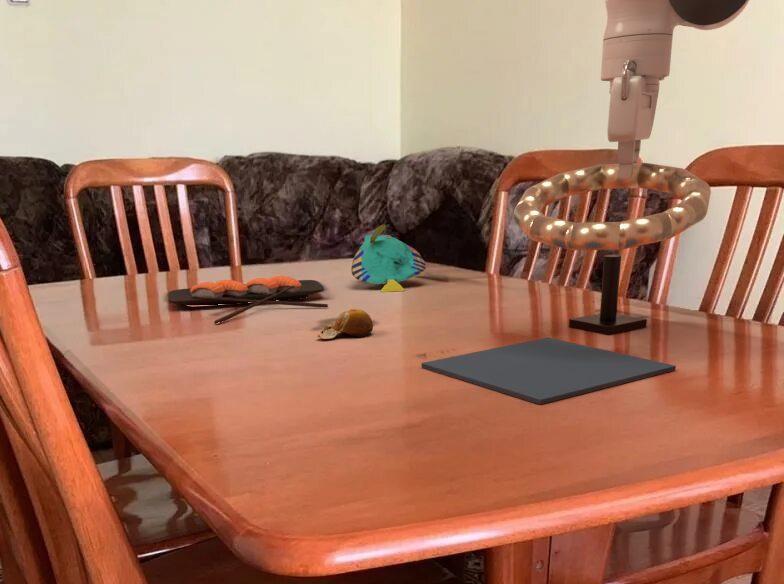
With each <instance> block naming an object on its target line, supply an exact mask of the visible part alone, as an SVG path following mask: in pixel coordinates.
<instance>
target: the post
mask: <svg viewBox="0 0 784 584" xmlns="http://www.w3.org/2000/svg"><path fill="white" fill-rule="evenodd" d="M621 264H622V255H620V254H606V255H604V256H603V266H602V278H601V279H602V280H601V292H600V293H601V295H600V310H599V312H598V313H594V314H589V315H584V316H578V317H572V318H569V320H568V327H569V328H572V329H577V330H582V331H587V332H592V333H597V334H601V335H606V336H611V335H615V334H621V333H625V332H630V331H634V330H639V329H643V328H647V325H648V319H647V318H645V317H644V318H643V317H638V316H631V315H626V314H620V313H618V303H619V301H618V300H619V291H620V289H619V288H620V277H621Z"/></svg>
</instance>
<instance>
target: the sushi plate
mask: <svg viewBox="0 0 784 584" xmlns="http://www.w3.org/2000/svg"><path fill="white" fill-rule="evenodd" d="M324 291H325V287H324V286H323V285H322V284H321V283H320V282H319V281H318V280H315V279H300V280H299V279H298V280H297V279H296V278H294V277H290V276H286V275H275V276H272V277H270V278H265V277H259V278H254V279H251V280H248V281H247V282H246V283H245V284H244V283H243V282H241V281H238V280H234V279H222V280H218V281H216V282H211V281H204V282H200V283H197V284H194V285H193V286H192V287H191V288H180V289H174V290H171V291H170V292H168V297H167V298H168V301H169V302H170V303H171V304H179V305H185V306H186V305H218V304H236V305H238V304H237V303H248V302H254V303H250V304H249V305H247V306H245V307H241V308H240V309H238V310H236V311H233V312H230V313H228V314H226V315H223V316H222V317H220V318H217V319H215V320H214V321H213V322H214V324H215V323H218V322H222V321H224V322H225V321H228V320H230V319H233V318H234V317H236V316H238V315H241V314H242V313H244V312H246V311H248V310H250V309H252V308H254V307H256V306H258V305H260V304H269V305H280V306H281V305H282V306H295V307H296V306H297V307H309V308H321V307H327V308H329V304H328V303H317V302H298V301H289V300H288V299H298V300H301V299H300V298H305V299H307V298H306V297H308V298H309V296H310V295H314V294H318V293H322V292H324ZM276 300H287V301H276ZM222 323H223V322H222Z"/></svg>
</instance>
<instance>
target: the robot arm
mask: <svg viewBox="0 0 784 584" xmlns="http://www.w3.org/2000/svg"><path fill="white" fill-rule="evenodd" d="M604 1H605V2H604V4H605V9H606V26H605V29H604V32H603V36H602V37H603V38H602V48H601V49H602V50H601V65H600V66H601V68H600V69H601V70H600V81H601V82H609V92H608V93H609V107H608V108H609V109H608V118H607V119H608V120H607V140H608V142H609V143H617V160H618V164H619V170H618V176H619V178H630V177H631V176H632V175H633V163H639V157H640V152H641V145H642V140H649V139H650V138H651V135H652V132H653V131H652V130H653V126H654V121H655V117H656V111H657V105H658V98H659V94H660V93H659V91H660V85H661V83H660V81H664V80H665V78H667V77H669V76H670V71H671V61H672V48H673V36H674V29H675V28H676V27H677V26H683V27H689V28H694V29H696V30H701V31H711V30H717V29H720V28H723V27H724V26H727V25H728V24H730V23H731V22H733V21H734V20H735V19H736V18H737V17H738V16H739V15H740V14H741V13H742V12H743V11H744V9H745V8H746V7H747V5H748V4H749V1H750V0H604Z"/></svg>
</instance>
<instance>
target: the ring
mask: <svg viewBox="0 0 784 584" xmlns="http://www.w3.org/2000/svg"><path fill="white" fill-rule="evenodd" d="M618 170H619V163H608V164H607V163H606V164H605V163H604V164H603V163H602V164H597V165H592V166H587V167H583V168H579V169H573V170H569V171H564V172H560V173H558V174H557V173H556V174H555V175H553V176H551V177H549V178H546V179H544V180H542V181H541V182H539V183H537V184H534V185H532V186H530V187H528V188H527V189H526V190H525V191H524V193H523V194H522V197H520V199H519V201H518V203H517V204H516V206H515V208H514V210H513V212H512V213H513V215H512V216H513V220H514V222H515V224H516V225H517V226H518V227H519V228H520V229H521V230H522V232H523V233H524V234H525V235H526V236H527V238H529V239H530V240H532V241H533V242H537V243H540V244H544V245H549V246H553V247H556V248H561V249H565V250H568V251H621V250H628V249H631V248H635V247H640V246H645V245H650V244H654V243H658V242H662V241H663V242H664V241H668V240H672V238H675V237H676V236H677V235H679V234H681V233H683V232H685V231H686V230H688V229H690V228H692V227H693V226H696V225H697V224H699V223H700V222H701V221H703V220H704V219H705V217H707V214H708V211H709V206H710V200H711V195H712V194H711V193H712V190H711V186H710V185H709V184H708V182H707V181H705V180H704V179H702V178H700V177H698V176H697V175H695V174H693V172H692V173H691V172H690V171H688V170H687V169H685V168H683V167H677V166H676V167H675V166H671V165H664V164H663V165H662V164H658V163H657V164H656V163H650V162H637V163H633V175H632V176H631V177H630V178H619V176H618ZM614 189H615V190H617V189H618V190H619V189H645V190H651V191H656V192H662V193H668V194H672V195H673V196H675V197H676V198H678V199H679V200H681V201H680V202H679V203H677V204H675V205H674V206H672V207H670V208H668V209H666V210H665V211H662V212H659V213H655V214H651V215H646V216H641V217H636V218H631V219H627V220H622V221H596V222H595V221H593V222H592V221H591V222H574V221H570V220H566V219H561V218H556V217H551V216H547V215H545V214H544V213H543V212H542V210H543V208H546V207H548V206H550V205H553V204H554V203H556V202H558V201H560V200H561V199H563V198H566V197H570V196H575V195H580V194H584V193H590V192H594V191H598V190H614Z"/></svg>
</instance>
